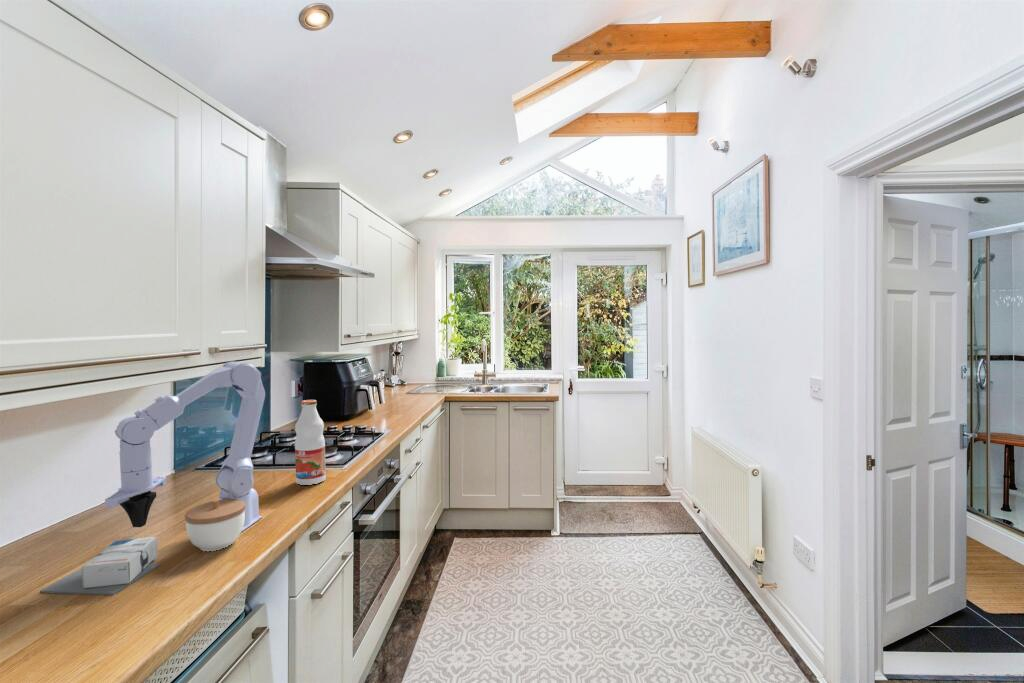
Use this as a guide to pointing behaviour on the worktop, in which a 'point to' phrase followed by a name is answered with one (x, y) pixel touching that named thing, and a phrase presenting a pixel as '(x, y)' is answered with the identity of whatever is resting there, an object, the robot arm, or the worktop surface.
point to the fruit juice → (309, 445)
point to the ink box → (119, 562)
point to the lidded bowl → (215, 523)
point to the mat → (75, 586)
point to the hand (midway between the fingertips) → (139, 525)
